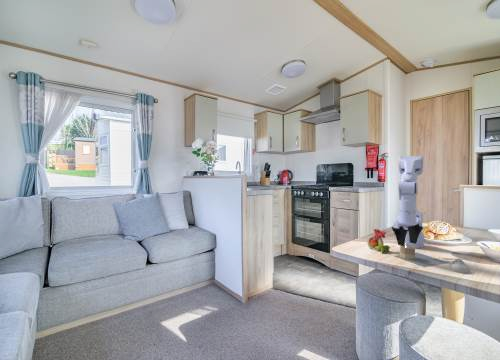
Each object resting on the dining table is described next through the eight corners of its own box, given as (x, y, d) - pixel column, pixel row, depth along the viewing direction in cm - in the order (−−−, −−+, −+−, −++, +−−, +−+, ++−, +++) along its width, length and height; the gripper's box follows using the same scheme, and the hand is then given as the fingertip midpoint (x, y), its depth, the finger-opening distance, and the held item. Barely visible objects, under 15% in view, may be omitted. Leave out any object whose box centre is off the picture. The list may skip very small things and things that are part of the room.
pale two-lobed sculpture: (465, 281, 82) (447, 272, 85) (468, 273, 88) (450, 266, 91) (471, 270, 81) (452, 261, 84) (473, 263, 86) (455, 256, 90)
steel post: (406, 256, 100) (406, 242, 99) (410, 258, 98) (410, 243, 98) (403, 257, 99) (403, 243, 99) (407, 258, 98) (407, 244, 97)
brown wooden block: (410, 256, 101) (410, 245, 101) (417, 260, 96) (417, 248, 96) (397, 255, 101) (398, 244, 101) (404, 259, 96) (404, 248, 96)
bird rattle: (368, 257, 108) (388, 254, 102) (359, 232, 112) (377, 228, 105) (375, 254, 112) (394, 251, 105) (366, 231, 116) (384, 226, 109)
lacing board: (416, 254, 105) (416, 252, 105) (449, 265, 93) (450, 262, 93) (392, 258, 101) (392, 255, 101) (424, 269, 88) (424, 267, 88)
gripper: (409, 208, 105) (408, 239, 105) (386, 210, 99) (386, 243, 99) (426, 211, 98) (426, 244, 99) (403, 213, 92) (402, 248, 93)
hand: (407, 244), depth 98 cm, fingers open, 7 cm apart
